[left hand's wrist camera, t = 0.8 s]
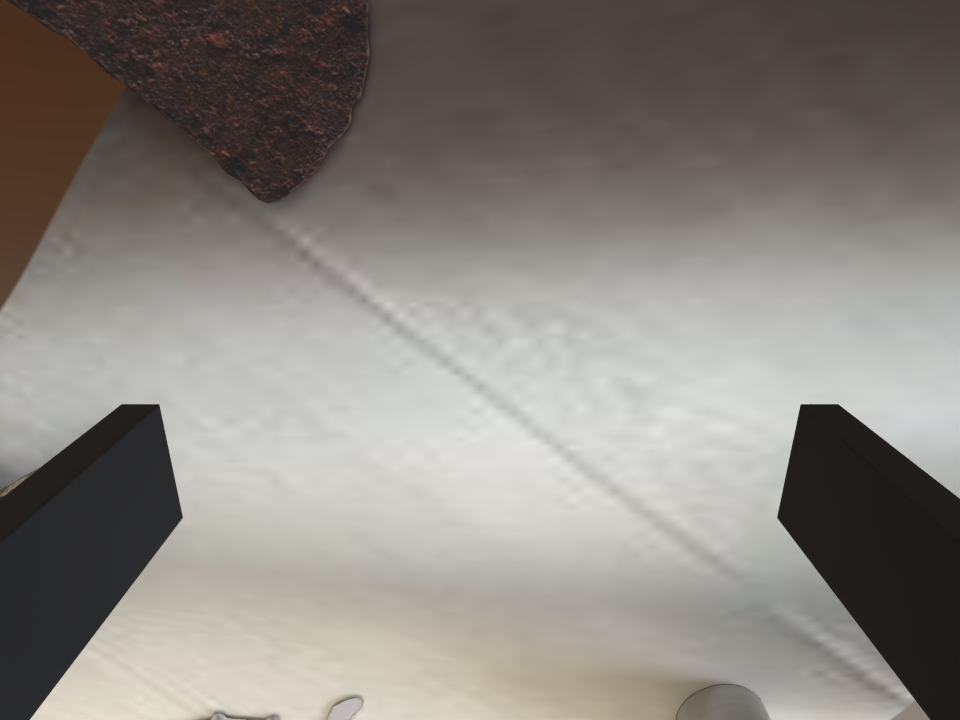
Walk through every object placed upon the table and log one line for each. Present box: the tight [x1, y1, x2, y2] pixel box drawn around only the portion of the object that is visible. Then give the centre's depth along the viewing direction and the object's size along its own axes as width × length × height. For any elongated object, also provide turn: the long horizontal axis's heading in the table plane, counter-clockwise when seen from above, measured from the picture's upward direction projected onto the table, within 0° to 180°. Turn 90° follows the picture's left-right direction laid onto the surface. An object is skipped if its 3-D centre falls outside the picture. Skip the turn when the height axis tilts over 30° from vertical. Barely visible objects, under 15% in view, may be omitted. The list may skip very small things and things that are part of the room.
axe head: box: [7, 0, 370, 203], centre depth 34 cm, size 18×8×15 cm
